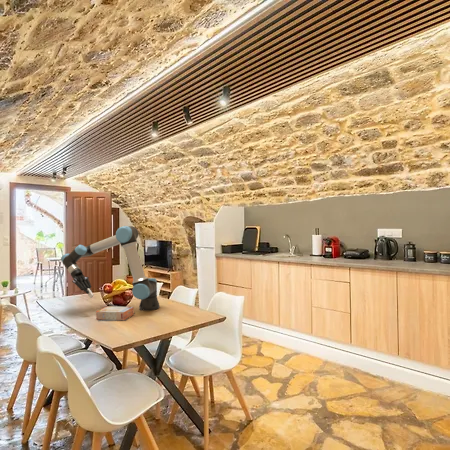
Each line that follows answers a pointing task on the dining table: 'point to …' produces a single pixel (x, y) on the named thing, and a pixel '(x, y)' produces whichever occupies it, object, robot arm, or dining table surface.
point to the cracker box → (114, 313)
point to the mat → (113, 320)
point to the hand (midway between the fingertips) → (91, 296)
